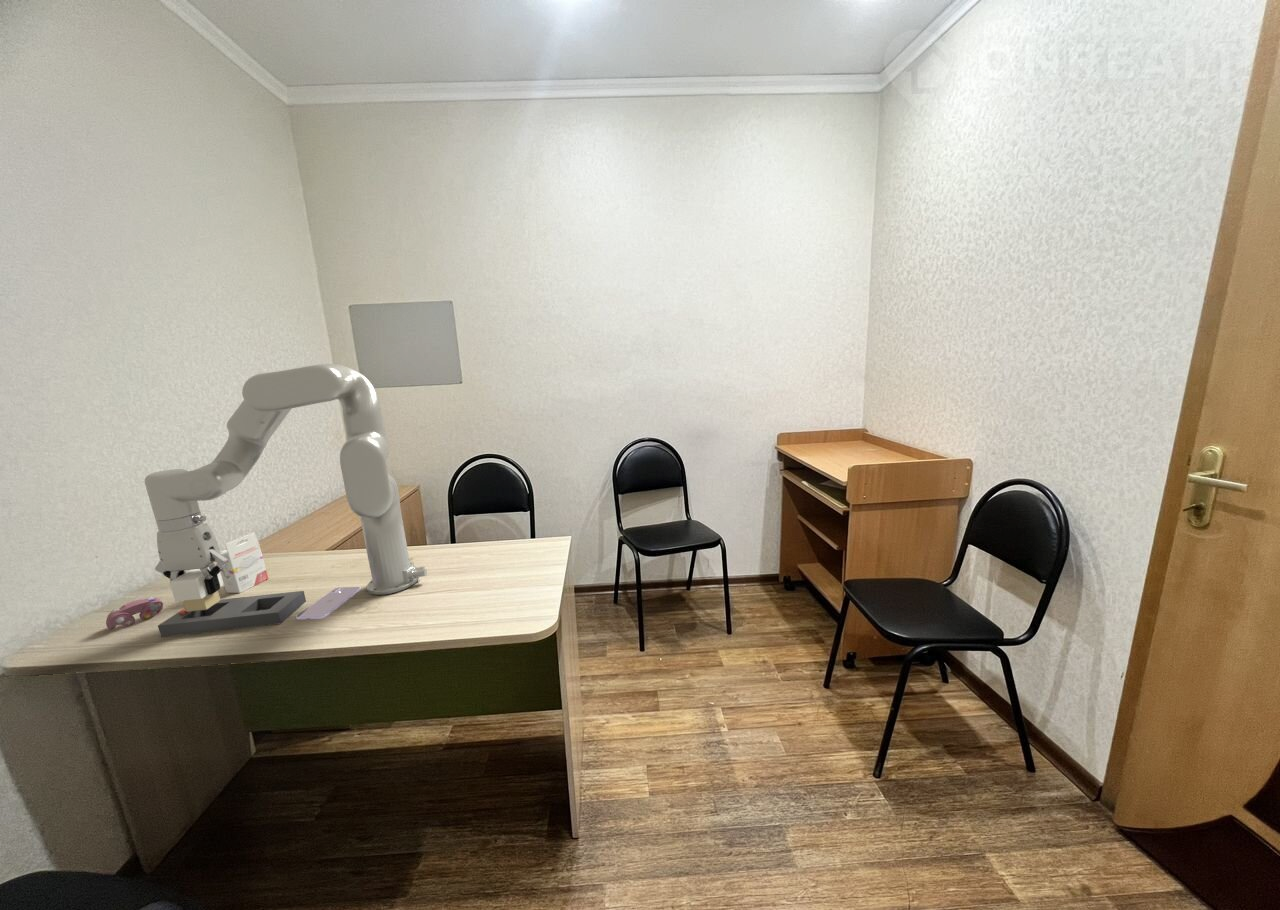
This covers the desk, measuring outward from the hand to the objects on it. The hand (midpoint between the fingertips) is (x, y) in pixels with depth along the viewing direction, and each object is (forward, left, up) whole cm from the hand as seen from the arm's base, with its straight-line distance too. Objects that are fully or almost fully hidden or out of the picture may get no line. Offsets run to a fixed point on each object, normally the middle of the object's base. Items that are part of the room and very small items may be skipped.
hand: (200, 592), depth 113 cm
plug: (0, 0, -3) cm, 3 cm away
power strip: (-7, 0, -8) cm, 10 cm away
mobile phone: (-27, -3, -8) cm, 28 cm away
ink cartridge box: (+3, -19, -8) cm, 21 cm away
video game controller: (+19, -4, -8) cm, 21 cm away
